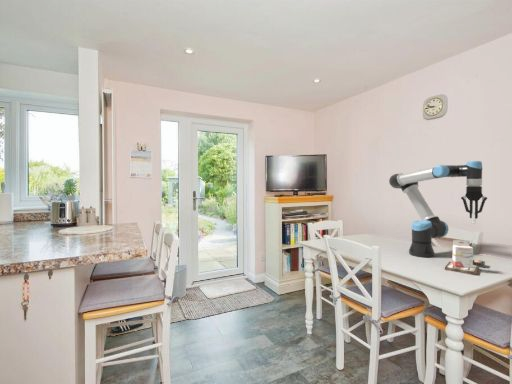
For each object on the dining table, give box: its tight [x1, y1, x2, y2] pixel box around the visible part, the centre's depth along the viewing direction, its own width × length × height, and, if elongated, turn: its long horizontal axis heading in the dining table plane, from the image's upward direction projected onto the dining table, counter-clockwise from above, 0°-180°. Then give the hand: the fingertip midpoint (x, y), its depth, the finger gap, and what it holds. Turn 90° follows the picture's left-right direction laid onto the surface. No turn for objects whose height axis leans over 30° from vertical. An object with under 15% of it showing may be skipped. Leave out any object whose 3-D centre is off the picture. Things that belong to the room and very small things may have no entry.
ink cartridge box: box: [451, 239, 474, 268], centre depth 154 cm, size 9×5×15 cm, turn 71°
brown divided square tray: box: [444, 261, 480, 276], centre depth 154 cm, size 14×14×2 cm
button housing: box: [473, 259, 486, 269], centre depth 160 cm, size 6×6×2 cm
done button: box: [473, 259, 483, 263], centre depth 160 cm, size 4×4×2 cm
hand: (473, 223), depth 167 cm, fingers closed
